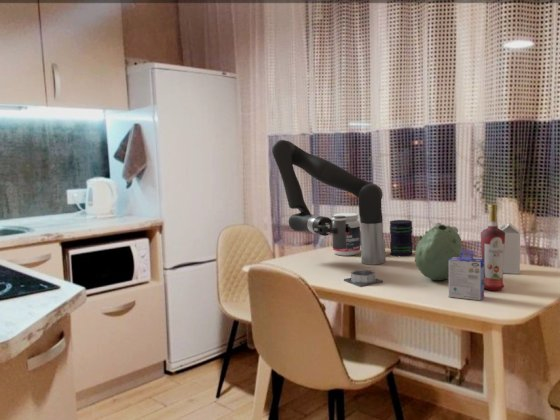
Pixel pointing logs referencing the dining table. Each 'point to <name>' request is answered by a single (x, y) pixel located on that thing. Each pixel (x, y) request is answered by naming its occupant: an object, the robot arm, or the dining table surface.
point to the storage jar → (401, 238)
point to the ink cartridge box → (466, 277)
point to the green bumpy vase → (437, 251)
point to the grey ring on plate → (363, 278)
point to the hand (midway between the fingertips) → (342, 230)
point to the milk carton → (511, 249)
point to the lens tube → (339, 232)
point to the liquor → (493, 252)
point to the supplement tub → (350, 236)
